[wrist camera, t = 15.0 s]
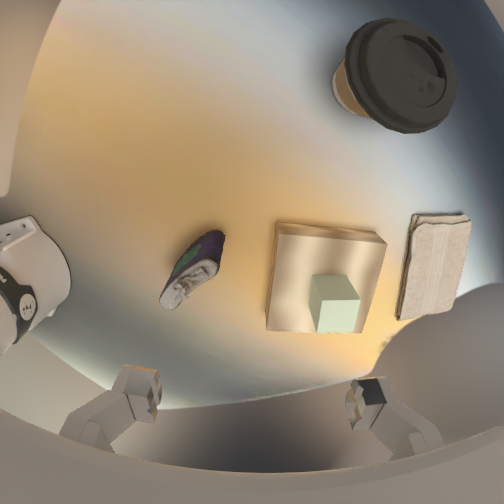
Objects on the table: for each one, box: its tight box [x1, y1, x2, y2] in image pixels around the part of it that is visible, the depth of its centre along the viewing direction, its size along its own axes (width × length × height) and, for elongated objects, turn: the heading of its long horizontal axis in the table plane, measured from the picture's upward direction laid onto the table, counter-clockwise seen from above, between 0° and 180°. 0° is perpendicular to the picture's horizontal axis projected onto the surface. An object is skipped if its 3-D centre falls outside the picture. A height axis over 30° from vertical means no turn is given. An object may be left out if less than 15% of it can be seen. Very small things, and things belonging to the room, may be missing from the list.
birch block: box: [265, 222, 387, 333], centre depth 40 cm, size 14×14×5 cm
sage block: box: [308, 275, 361, 333], centre depth 35 cm, size 4×4×6 cm
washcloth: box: [395, 214, 472, 321], centre depth 41 cm, size 12×18×3 cm, turn 5°
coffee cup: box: [332, 18, 457, 134], centre depth 25 cm, size 11×11×15 cm
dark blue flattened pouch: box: [159, 230, 226, 310], centre depth 36 cm, size 9×3×11 cm, turn 132°
